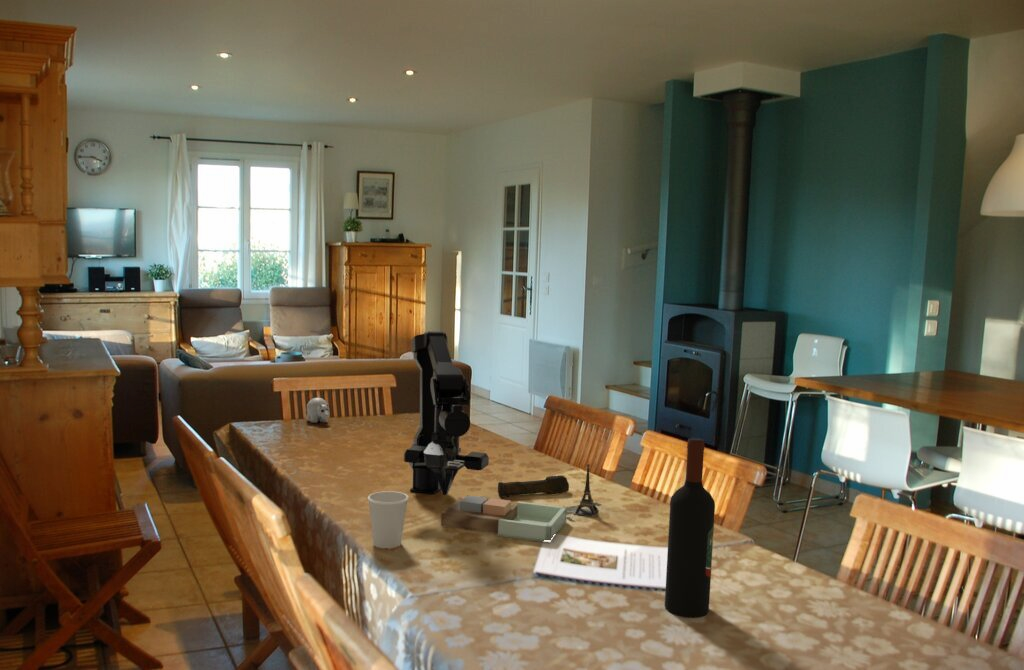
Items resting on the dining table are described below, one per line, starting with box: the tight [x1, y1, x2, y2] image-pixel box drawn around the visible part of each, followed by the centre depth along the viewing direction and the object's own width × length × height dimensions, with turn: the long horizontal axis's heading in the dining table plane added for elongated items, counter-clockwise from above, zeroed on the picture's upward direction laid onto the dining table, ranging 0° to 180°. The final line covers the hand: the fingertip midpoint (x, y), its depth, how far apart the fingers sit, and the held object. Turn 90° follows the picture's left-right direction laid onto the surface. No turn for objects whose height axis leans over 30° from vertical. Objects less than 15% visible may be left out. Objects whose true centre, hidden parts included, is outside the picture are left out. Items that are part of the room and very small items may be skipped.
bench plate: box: [440, 498, 517, 535], centre depth 192 cm, size 14×12×3 cm
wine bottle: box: [664, 437, 716, 619], centre depth 148 cm, size 8×8×30 cm
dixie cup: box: [367, 490, 409, 549], centre depth 176 cm, size 8×8×10 cm
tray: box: [497, 501, 568, 543], centre depth 189 cm, size 12×15×4 cm
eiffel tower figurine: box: [566, 459, 602, 522], centre depth 203 cm, size 15×10×13 cm
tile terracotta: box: [483, 497, 512, 516], centre depth 191 cm, size 5×5×2 cm
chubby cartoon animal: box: [305, 397, 331, 424], centre depth 294 cm, size 7×12×8 cm, turn 34°
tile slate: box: [460, 495, 489, 513], centre depth 193 cm, size 5×5×2 cm
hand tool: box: [497, 475, 570, 499], centre depth 216 cm, size 19×4×5 cm, turn 108°
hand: (445, 494), depth 195 cm, fingers closed
